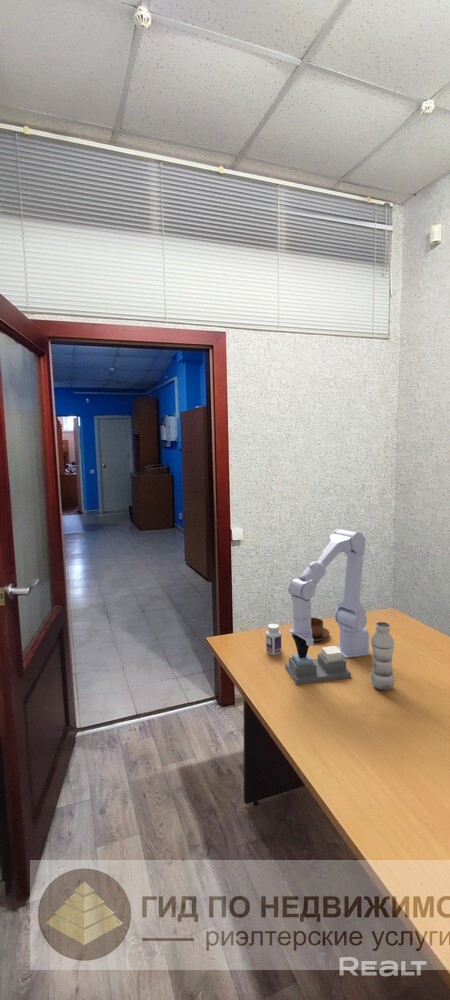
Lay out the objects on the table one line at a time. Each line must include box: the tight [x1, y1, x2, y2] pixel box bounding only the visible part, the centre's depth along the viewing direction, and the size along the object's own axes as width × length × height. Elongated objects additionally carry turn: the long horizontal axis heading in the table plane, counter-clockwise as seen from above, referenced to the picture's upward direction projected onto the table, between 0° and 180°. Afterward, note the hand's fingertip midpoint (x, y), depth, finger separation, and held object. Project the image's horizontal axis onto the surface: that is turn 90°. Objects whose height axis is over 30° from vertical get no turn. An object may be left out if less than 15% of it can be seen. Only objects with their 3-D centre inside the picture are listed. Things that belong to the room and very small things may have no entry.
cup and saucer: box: [311, 617, 330, 642], centre depth 170 cm, size 12×12×6 cm
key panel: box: [284, 652, 352, 686], centre depth 144 cm, size 18×11×4 cm, turn 100°
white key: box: [321, 645, 343, 662], centre depth 145 cm, size 5×5×3 cm
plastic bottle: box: [370, 621, 395, 691], centre depth 133 cm, size 6×7×20 cm
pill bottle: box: [265, 623, 283, 656], centre depth 159 cm, size 5×5×10 cm
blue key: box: [292, 652, 313, 666], centre depth 143 cm, size 5×5×3 cm
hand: (302, 656), depth 143 cm, fingers closed, pressing on blue key
